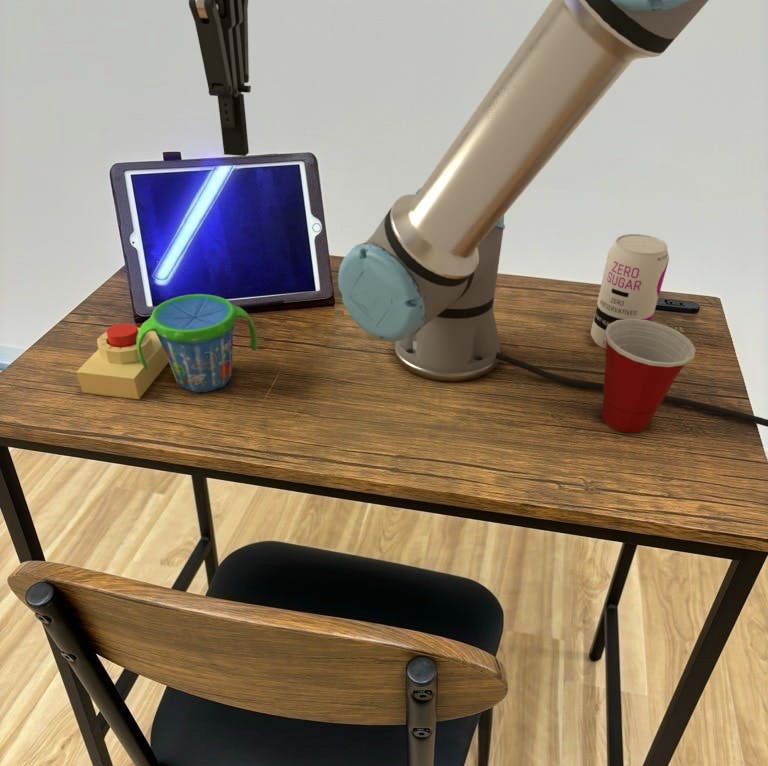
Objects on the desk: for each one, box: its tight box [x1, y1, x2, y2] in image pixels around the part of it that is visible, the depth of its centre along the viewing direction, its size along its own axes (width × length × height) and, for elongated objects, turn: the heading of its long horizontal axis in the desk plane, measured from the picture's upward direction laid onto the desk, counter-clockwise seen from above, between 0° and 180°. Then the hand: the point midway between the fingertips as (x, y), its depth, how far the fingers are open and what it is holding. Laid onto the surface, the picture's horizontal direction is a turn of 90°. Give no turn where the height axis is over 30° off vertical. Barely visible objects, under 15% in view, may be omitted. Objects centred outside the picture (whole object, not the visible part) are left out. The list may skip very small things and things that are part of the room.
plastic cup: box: [602, 319, 697, 434], centre depth 92 cm, size 11×11×12 cm
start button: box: [106, 322, 139, 348], centre depth 99 cm, size 4×4×2 cm
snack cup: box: [137, 293, 259, 393], centre depth 98 cm, size 16×10×10 cm
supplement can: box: [590, 233, 670, 350], centre depth 107 cm, size 8×8×15 cm
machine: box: [76, 327, 169, 400], centre depth 101 cm, size 13×8×5 cm, turn 170°
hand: (236, 153), depth 91 cm, fingers closed
